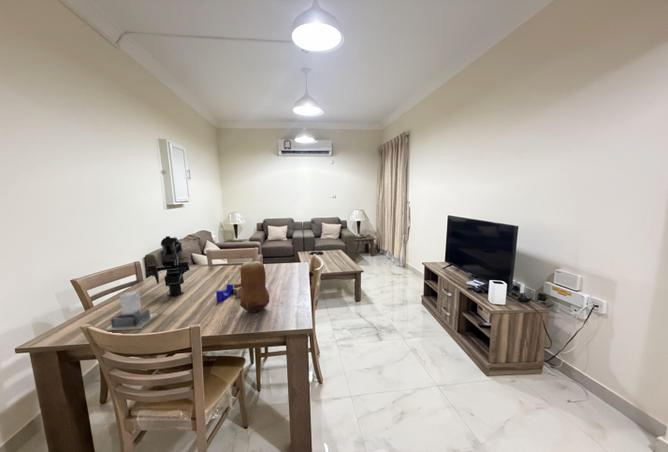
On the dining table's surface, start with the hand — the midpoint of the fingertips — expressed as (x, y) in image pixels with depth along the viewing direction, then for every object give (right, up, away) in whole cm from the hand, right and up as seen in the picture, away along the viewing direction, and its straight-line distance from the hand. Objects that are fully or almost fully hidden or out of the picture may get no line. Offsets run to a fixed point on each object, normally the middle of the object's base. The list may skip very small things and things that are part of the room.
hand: (168, 282), depth 135 cm
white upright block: (-7, -15, -15) cm, 22 cm away
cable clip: (+23, -12, +14) cm, 29 cm away
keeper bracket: (-7, -16, -15) cm, 23 cm away
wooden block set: (+35, -11, +23) cm, 43 cm away
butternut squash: (+46, -13, -4) cm, 48 cm away
